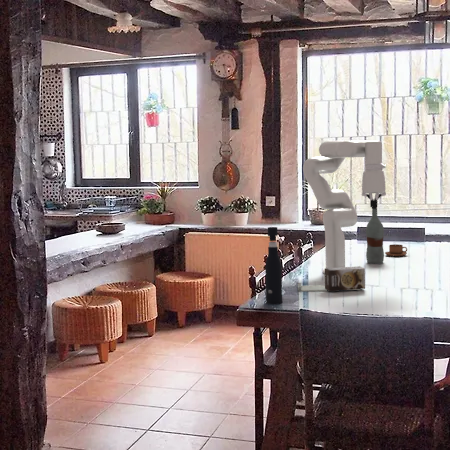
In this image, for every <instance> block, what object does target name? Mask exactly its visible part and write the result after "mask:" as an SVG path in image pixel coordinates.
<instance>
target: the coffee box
mask: <svg viewBox="0 0 450 450" xmlns="http://www.w3.org/2000/svg"><path fill="white" fill-rule="evenodd" d="M324 269H325V273H324V285H325V289H327V290H328V291H327V292H340V291H339V290H353V289H360V290H364V289H366V268H365V267H362V266H361V265H359V266H358V265H357V266H345V267H341V268H326V267H325V268H324Z"/></svg>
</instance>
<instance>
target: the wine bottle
mask: <svg viewBox="0 0 450 450" xmlns="http://www.w3.org/2000/svg"><path fill="white" fill-rule="evenodd" d="M267 236H268V237H269V242H268V247H267V252H268V254H267V257H266V260H265V265H264V266H265V267H264V268H265V272H264V273H265V274H264V275H265V303H266V304H269V305H278V304H279V305H280V304H282V303H283V278H282V268H283V267H282V262H281V258H280V255H279V248H278V247H279V246H277V245H278V243H277V237H278V227H277V226H269V227H267Z"/></svg>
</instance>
